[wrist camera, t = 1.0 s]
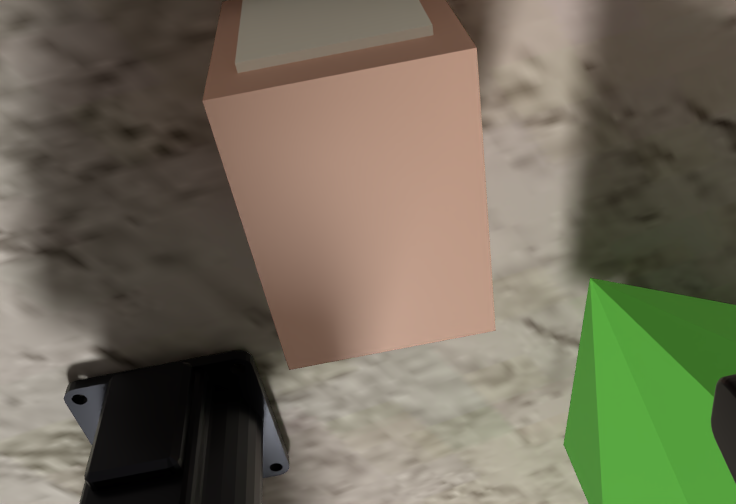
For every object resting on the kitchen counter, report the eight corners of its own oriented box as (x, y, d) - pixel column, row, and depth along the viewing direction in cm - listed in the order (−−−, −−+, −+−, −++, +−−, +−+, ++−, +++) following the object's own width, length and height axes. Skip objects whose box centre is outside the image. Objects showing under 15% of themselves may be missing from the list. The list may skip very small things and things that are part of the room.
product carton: (446, 198, 22) (495, 330, 17) (286, 229, 22) (289, 369, 17) (420, -47, 17) (475, 36, 12) (220, -8, 17) (199, 90, 13)
